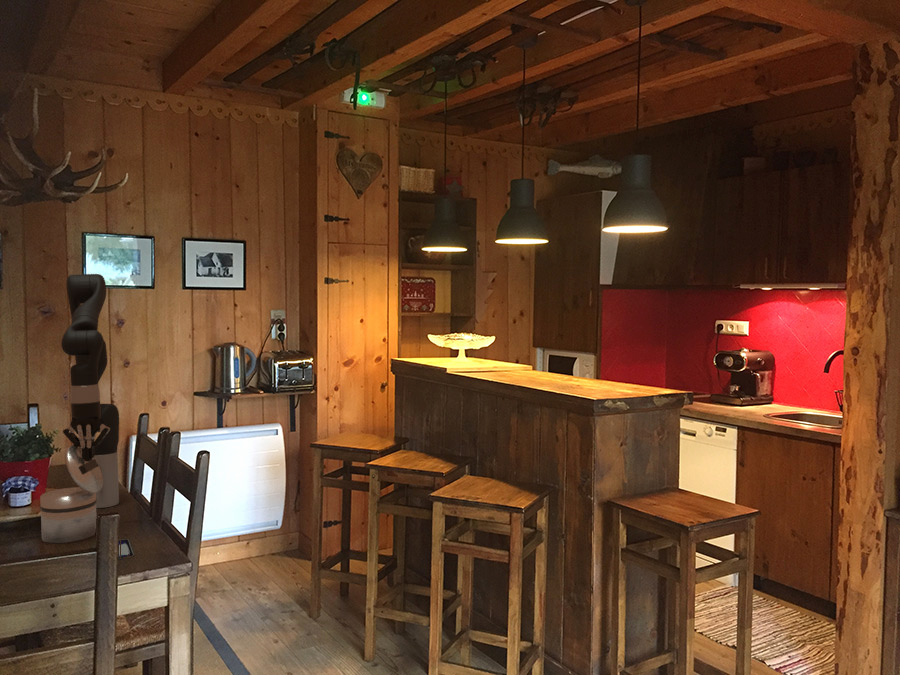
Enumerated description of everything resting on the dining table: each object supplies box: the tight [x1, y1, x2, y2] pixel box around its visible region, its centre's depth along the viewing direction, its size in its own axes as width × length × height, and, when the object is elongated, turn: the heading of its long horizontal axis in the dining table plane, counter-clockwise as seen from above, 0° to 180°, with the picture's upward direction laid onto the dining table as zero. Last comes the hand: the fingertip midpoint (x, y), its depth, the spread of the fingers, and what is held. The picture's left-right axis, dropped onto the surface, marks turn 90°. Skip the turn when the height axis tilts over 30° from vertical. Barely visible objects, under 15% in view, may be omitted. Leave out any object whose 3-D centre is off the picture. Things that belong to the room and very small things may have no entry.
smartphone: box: [118, 538, 135, 561], centre depth 197 cm, size 7×1×15 cm
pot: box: [39, 486, 98, 544], centre depth 210 cm, size 14×14×12 cm
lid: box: [64, 444, 103, 494], centre depth 210 cm, size 15×15×3 cm
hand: (88, 460), depth 212 cm, fingers closed
